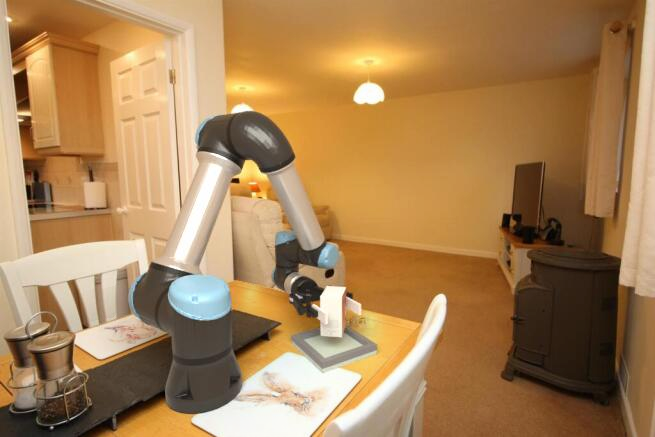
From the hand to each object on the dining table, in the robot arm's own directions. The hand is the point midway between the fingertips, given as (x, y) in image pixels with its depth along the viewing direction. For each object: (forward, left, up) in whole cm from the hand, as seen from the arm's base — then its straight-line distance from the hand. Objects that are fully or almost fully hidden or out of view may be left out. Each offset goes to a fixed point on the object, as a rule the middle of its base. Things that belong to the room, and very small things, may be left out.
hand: (343, 314), depth 84 cm
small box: (0, +5, -6) cm, 8 cm away
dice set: (+14, +13, -12) cm, 22 cm away
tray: (0, +4, -11) cm, 12 cm away
